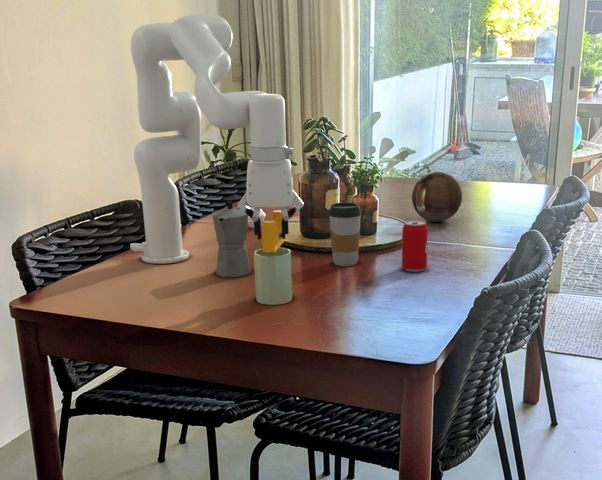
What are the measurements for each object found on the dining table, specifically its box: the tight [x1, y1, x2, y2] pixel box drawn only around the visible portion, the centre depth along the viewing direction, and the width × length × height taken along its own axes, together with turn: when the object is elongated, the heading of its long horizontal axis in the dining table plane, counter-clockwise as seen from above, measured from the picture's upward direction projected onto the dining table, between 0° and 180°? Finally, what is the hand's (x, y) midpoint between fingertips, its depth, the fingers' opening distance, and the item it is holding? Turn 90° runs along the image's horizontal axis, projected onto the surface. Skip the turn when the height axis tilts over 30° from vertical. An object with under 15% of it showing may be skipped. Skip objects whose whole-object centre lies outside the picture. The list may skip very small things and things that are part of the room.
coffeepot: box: [211, 200, 252, 278], centre depth 215 cm, size 15×9×18 cm, turn 163°
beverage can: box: [401, 219, 429, 273], centre depth 214 cm, size 6×6×12 cm
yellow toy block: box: [260, 209, 288, 252], centre depth 190 cm, size 12×4×6 cm, turn 169°
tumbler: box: [253, 247, 293, 306], centre depth 194 cm, size 8×8×11 cm
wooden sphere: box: [411, 171, 463, 223], centre depth 261 cm, size 15×15×15 cm
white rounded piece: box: [247, 206, 266, 229], centre depth 261 cm, size 6×6×7 cm
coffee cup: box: [328, 201, 362, 267], centre depth 220 cm, size 8×8×15 cm
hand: (271, 236), depth 191 cm, fingers closed on yellow toy block, 4 cm apart
